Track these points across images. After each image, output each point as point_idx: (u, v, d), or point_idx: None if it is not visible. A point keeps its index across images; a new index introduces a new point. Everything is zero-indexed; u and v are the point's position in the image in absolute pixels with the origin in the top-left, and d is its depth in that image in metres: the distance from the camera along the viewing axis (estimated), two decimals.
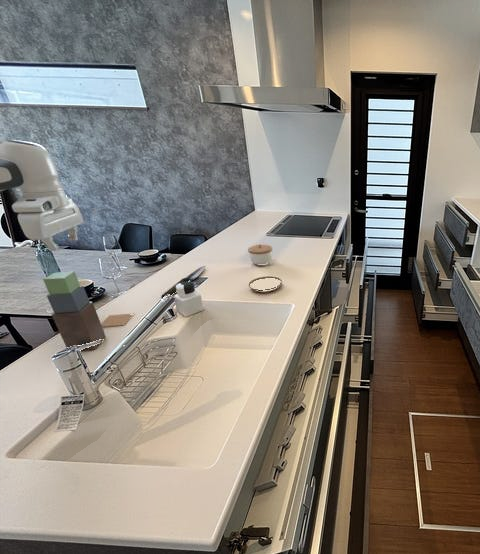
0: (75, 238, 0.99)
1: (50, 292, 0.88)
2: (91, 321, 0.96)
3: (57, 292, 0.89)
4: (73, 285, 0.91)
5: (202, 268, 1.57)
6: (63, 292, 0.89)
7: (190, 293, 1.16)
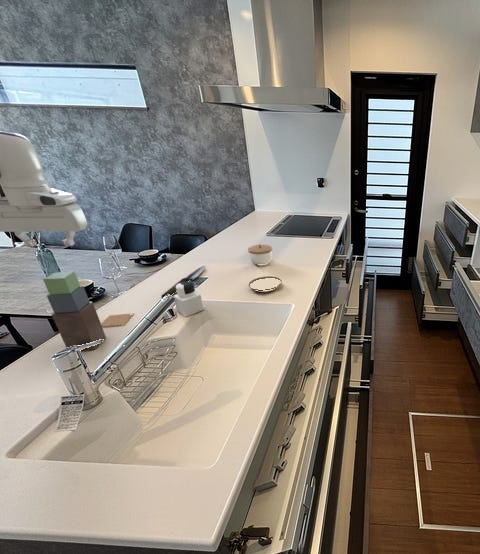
0: None
1: (50, 292, 0.88)
2: (91, 321, 0.96)
3: (57, 292, 0.89)
4: (73, 285, 0.91)
5: (202, 268, 1.57)
6: (63, 292, 0.89)
7: (190, 293, 1.16)
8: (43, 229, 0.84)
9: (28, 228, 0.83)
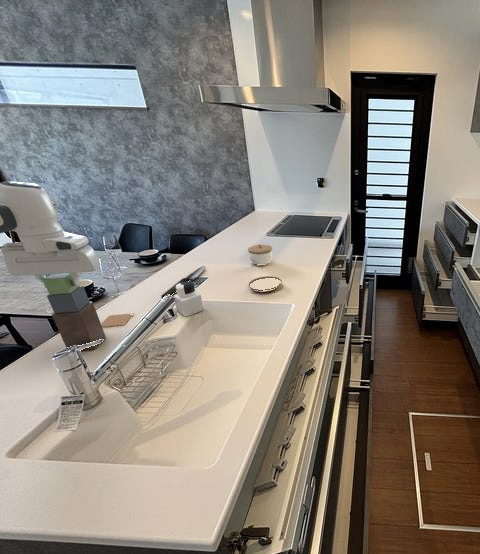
0: None
1: (50, 292, 0.88)
2: (91, 321, 0.96)
3: (57, 292, 0.89)
4: None
5: (202, 268, 1.57)
6: (62, 292, 0.89)
7: (190, 293, 1.16)
8: (57, 271, 0.87)
9: (42, 271, 0.86)
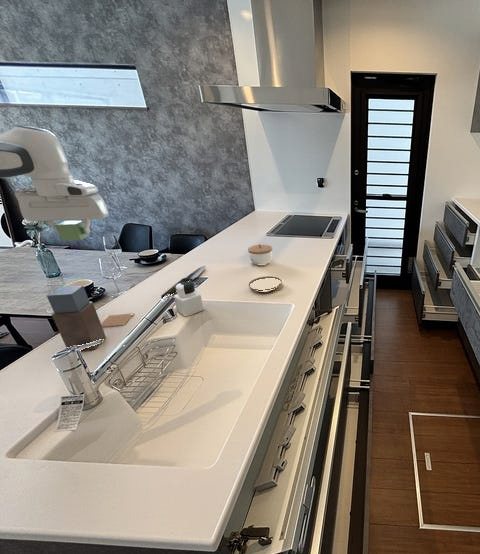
0: None
1: (62, 238, 0.92)
2: (91, 321, 0.96)
3: (68, 238, 0.92)
4: None
5: (202, 268, 1.57)
6: (73, 238, 0.93)
7: (190, 293, 1.16)
8: (68, 218, 0.91)
9: (54, 217, 0.90)
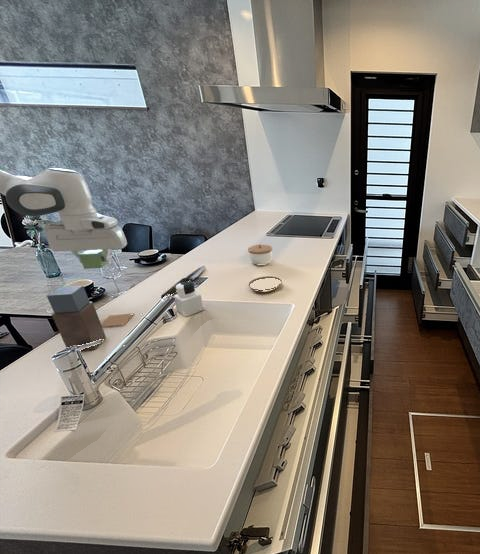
0: None
1: (84, 266, 1.00)
2: (91, 321, 0.96)
3: (90, 266, 1.01)
4: None
5: (202, 268, 1.57)
6: (95, 266, 1.01)
7: (190, 293, 1.16)
8: (91, 248, 0.99)
9: (78, 248, 0.98)
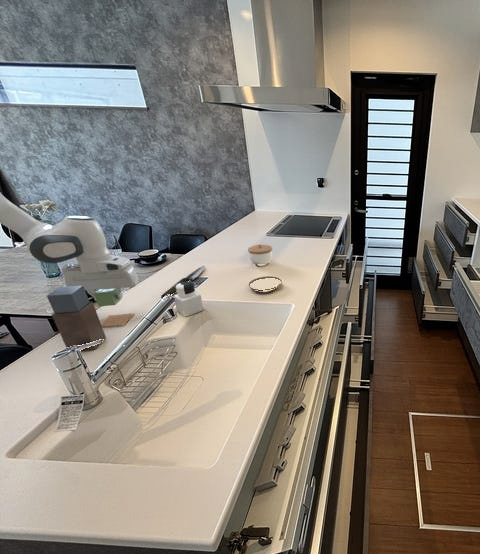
0: None
1: (99, 304, 1.06)
2: (91, 321, 0.96)
3: (104, 304, 1.07)
4: None
5: (202, 268, 1.57)
6: (109, 304, 1.07)
7: (190, 293, 1.16)
8: (105, 287, 1.05)
9: (94, 287, 1.04)
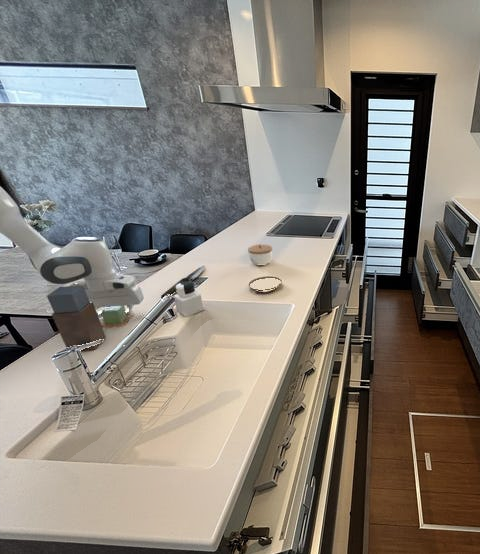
0: None
1: (105, 322, 1.09)
2: (91, 321, 0.96)
3: (111, 322, 1.10)
4: (123, 316, 1.12)
5: (202, 268, 1.57)
6: (115, 321, 1.10)
7: (190, 293, 1.16)
8: (111, 305, 1.08)
9: (100, 305, 1.07)
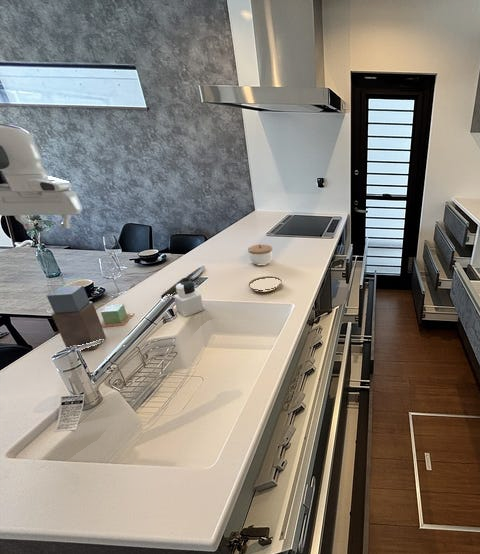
0: None
1: (105, 322, 1.09)
2: (91, 321, 0.96)
3: (111, 322, 1.10)
4: (123, 316, 1.12)
5: (202, 268, 1.57)
6: (115, 321, 1.10)
7: (190, 293, 1.16)
8: (42, 213, 0.93)
9: (28, 212, 0.92)
